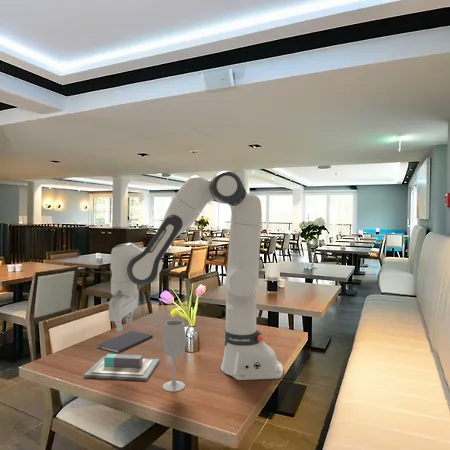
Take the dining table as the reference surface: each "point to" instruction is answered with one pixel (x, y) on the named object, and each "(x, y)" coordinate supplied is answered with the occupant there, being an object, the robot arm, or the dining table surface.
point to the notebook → (124, 341)
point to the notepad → (122, 371)
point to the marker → (123, 361)
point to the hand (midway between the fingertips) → (124, 326)
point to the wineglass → (174, 349)
